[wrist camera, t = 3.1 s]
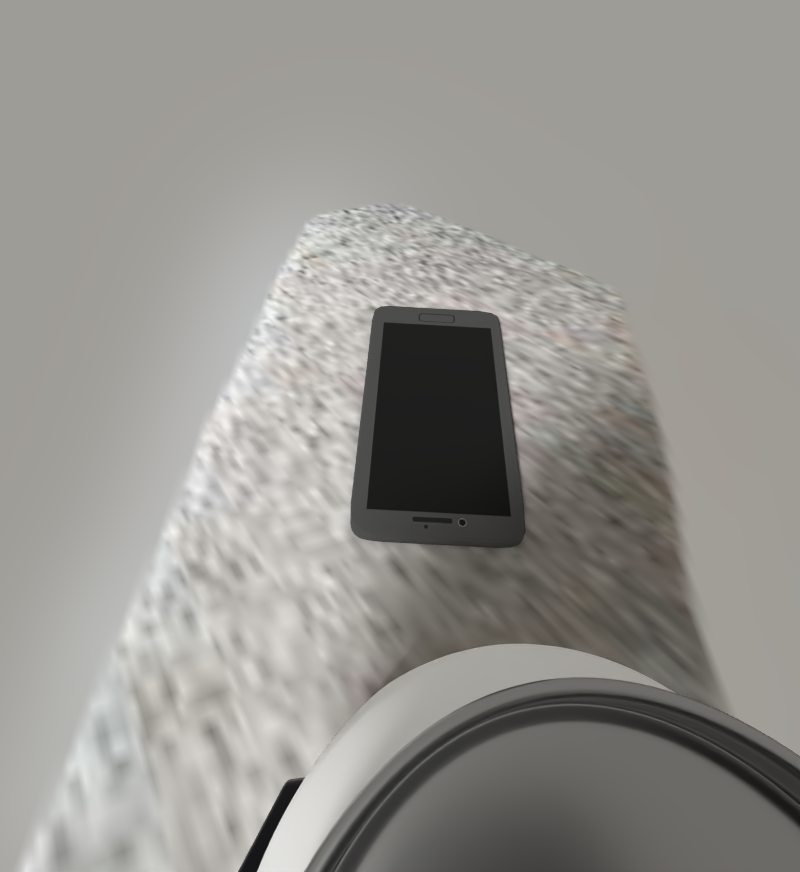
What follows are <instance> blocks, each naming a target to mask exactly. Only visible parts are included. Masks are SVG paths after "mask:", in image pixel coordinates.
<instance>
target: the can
mask: <svg viewBox="0 0 800 872" xmlns="http://www.w3.org/2000/svg"><path fill="white" fill-rule="evenodd" d="M257 872H800V756H798V755H797V754H796V753H794V752H793V751H791V750H790V749H788V748H786V747H785V746H783V745H782V744H780V743H779V742H777V741H775V740H774V739H772V738H771V737H769V736H767V735H765V734H764V733H762V732H760V731H758V730H757V729H755V728H753V727H751V726H750V725H748V724H746V723H744V722H742V721H740V720H738V719H736V718H734V717H732V716H730V715H728V714H726V713H724V712H722V711H720V710H718V709H715V708H713V707H711V706H708V705H706V704H704V703H701V702H699V701H696V700H694V699H691V698H688V697H686V696H683V695H680V694H677V693H675V692H673V691H672V690H670V689H668V688H666V687H665V686H663V685H661V684H660V683H658V682H656V681H654V680H652V679H651V678H649V677H647V676H645V675H643V674H641V673H639V672H637V671H635V670H632V669H630V668H628V667H626V666H623V665H621V664H618V663H616V662H613V661H610V660H608V659H605V658H602V657H599V656H596V655H592V654H589V653H585V652H581V651H577V650H572V649H568V648H562V647H556V646H547V645H537V644H499V645H490V646H483V647H477V648H473V649H469V650H464V651H460V652H456V653H453V654H449V655H446V656H443V657H441V658H438V659H435V660H433V661H430V662H428V663H426V664H423V665H421V666H419V667H417V668H415V669H413V670H411V671H409V672H407V673H405V674H403V675H401V676H400V677H398V678H396V679H395V680H393V681H392V682H390V683H389V684H387V685H386V686H384V687H383V688H382V689H380V690H379V691H378V692H377V693H376V694H375V695H373V696H372V697H371V698H370V699H369V700H368V701H367V702H366V703H365V704H364V705H363V706H362V707H361V708H360V709H359V710H358V711H357V712H356V713H355V714H354V715H353V716H352V717H351V718H350V719H349V720H348V722H347V723H346V724H345V725H344V726H343V727H342V728H341V730H340V731H339V732H338V733H337V734H336V735H335V737H334V738H333V739H332V740H331V742H330V743H329V744H328V746H327V747H326V748H325V750H324V751H323V752H322V754H321V755H320V756H319V758H318V759H317V761H316V762H315V764H314V765H313V767H312V768H311V770H310V771H309V773H308V774H307V776H306V777H305V779H304V780H303V782H302V783H301V785H300V787H299V788H298V790H297V792H296V793H295V795H294V797H293V798H292V800H291V802H290V804H289V805H288V807H287V809H286V811H285V813H284V815H283V816H282V818H281V820H280V822H279V824H278V826H277V828H276V830H275V832H274V834H273V836H272V839H271V841H270V843H269V845H268V847H267V849H266V852H265V854H264V856H263V859H262V861H261V863H260V866H259V868H258V870H257Z"/></svg>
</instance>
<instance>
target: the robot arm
mask: <svg viewBox="0 0 800 872" xmlns="http://www.w3.org/2000/svg"><path fill="white" fill-rule="evenodd" d="M304 779H305V777H304V778H297V779H290V780H288V781H287V782H286V783H285V785H284V786H283V788H282V790H281V792H280V794H279V795H278V797H277V799H276V801H275V803H274V805H273V807H272V809H271V811H270V812H269V814H268V816H267V818H266V820H265V822H264V824H263V826H262V828H261V829H260V831H259V833H258V835H257V837H256V839H255V841H254V843H253V845H252V846H251V848H250V850H249V852H248V854H247V856H246V858H245V860H244V862H243V864H242V865H241V867H240V869H239V871H238V872H257V870H258V868H259V866H260V863H261V861H262V859H263V856H264V854H265V852H266V849H267V847H268V845H269V843H270V841H271V839H272V836H273V834H274V832H275V830H276V828H277V826H278V824H279V822H280V820H281V818H282V816H283V815H284V813H285V811H286V809H287V807H288V805H289V804H290V802H291V800H292V798H293V797H294V795H295V793H296V792H297V790H298V788H299V787H300V785H301V783H302V782H303V780H304Z"/></svg>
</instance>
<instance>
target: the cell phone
mask: <svg viewBox="0 0 800 872" xmlns="http://www.w3.org/2000/svg"><path fill="white" fill-rule="evenodd" d="M351 528H352V531H353V532H354V534H355V535H356V536H358V537H359V538H362V539H366V540H371V541H380V542H399V543H418V544H437V545H455V546H474V547H493V548H505V547H513V546H516V545H518V544H519V543H520V542H521V541H522V539H523V536H524V534H525V519H524V507H523V498H522V490H521V483H520V475H519V468H518V460H517V452H516V445H515V437H514V430H513V422H512V414H511V407H510V399H509V392H508V384H507V377H506V369H505V361H504V354H503V346H502V339H501V331H500V324H499V321H498V317H497V316H496V315H494V314H492V313H487V312H481V311H466V310H449V309H431V308H414V307H397V306H384V307H380V308H378V309H376V310H375V312H374V316H373V320H372V327H371V335H370V344H369V352H368V361H367V370H366V378H365V387H364V395H363V404H362V413H361V421H360V430H359V439H358V447H357V456H356V464H355V473H354V482H353V490H352V499H351Z"/></svg>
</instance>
